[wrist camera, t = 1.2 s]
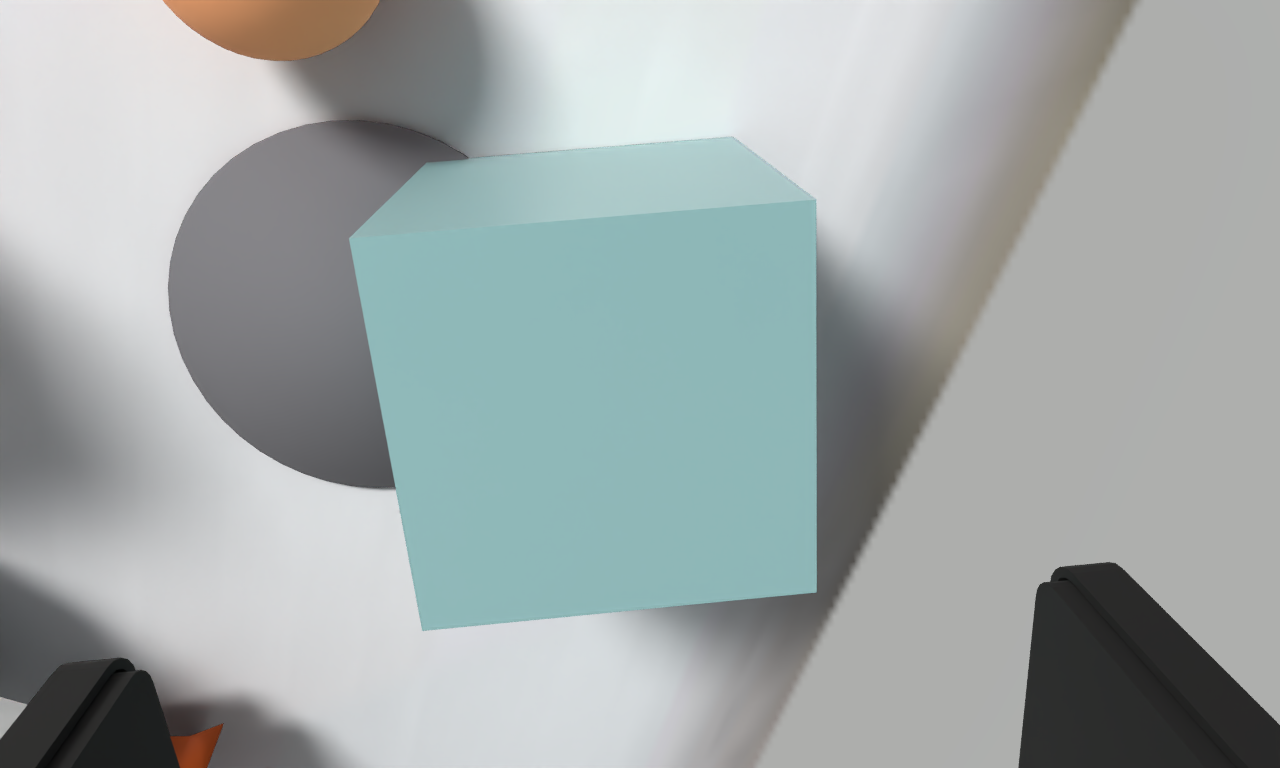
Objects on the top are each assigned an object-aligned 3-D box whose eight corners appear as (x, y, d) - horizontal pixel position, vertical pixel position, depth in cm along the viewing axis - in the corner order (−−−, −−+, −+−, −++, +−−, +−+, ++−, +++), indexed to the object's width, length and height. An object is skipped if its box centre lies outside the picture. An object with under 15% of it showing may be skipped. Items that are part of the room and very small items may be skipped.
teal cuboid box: (733, 136, 24) (816, 199, 16) (742, 415, 27) (817, 592, 18) (427, 161, 23) (349, 238, 15) (469, 439, 26) (422, 631, 18)
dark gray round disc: (536, 104, 23) (536, 105, 23) (575, 467, 27) (575, 470, 27) (125, 137, 23) (121, 138, 23) (221, 499, 26) (219, 503, 26)
